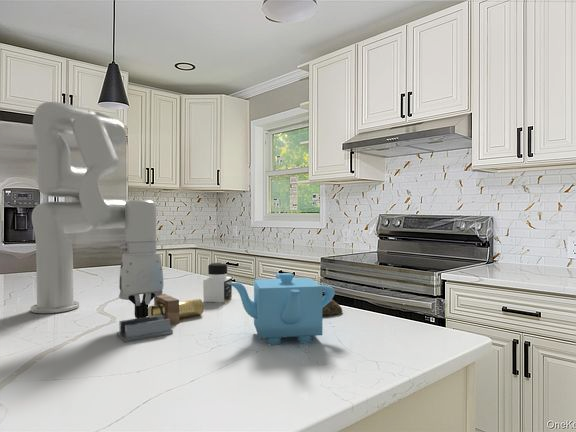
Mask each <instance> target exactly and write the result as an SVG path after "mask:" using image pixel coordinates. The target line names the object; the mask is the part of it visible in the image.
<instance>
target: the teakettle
mask: <svg viewBox="0 0 576 432" xmlns="http://www.w3.org/2000/svg"><path fill="white" fill-rule="evenodd" d="M275 276H276V278H264V279H262V278H261V279H254V280H253V300H252V299H251V298H250V296H249V294H248V291H247V288H246V287H245V285H244V284H242V283H240V282H232V283H227V284H229V285H231V286H232V288H233V287H234V289H236V291H237V292H238V294H239V296H240V300H241V304H242V306H243V308H244V311H245V313H246V314H248V315H249V317H251V318H253V324H254V327H255V330H256V333H257V336H258V339H267V341H266V344H267V345H269V344H270V346H277V344H278V345H279V344H281V338H295V337H297V341H298V342H299V343H300V344H309V343H312V342H313V341H312V339H311V336H312V337H314V336H323V317H322V308H323V307H325V306H326V305H327V304H328V303H329V302H330V301H331V300H332V299H333V298H334V296H335V294H336V290H335V289H334V287H332V286H330V285H324V284H319V283H318V282H316V281H315V280H314V279H312V278H311V277H299V278H298V277H296V278H295V277H294V276H295V274H294V273H290V272H283V273H278V272H277V273H276V274H275ZM323 291H324V295H323ZM322 295H323V296H324V297H323V299H322Z"/></svg>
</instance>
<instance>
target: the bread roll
mask: <svg viewBox="0 0 576 432" xmlns="http://www.w3.org/2000/svg"><path fill="white" fill-rule="evenodd" d="M324 296H325V295H323V294H322V299H323V297H324ZM342 313H343V308H342V307H341V305H340V304H339V303H338V302H336V300H334V299H333V298H332V300H331V301H330V302H329V303H328V304H327V305H326V306H325V307H323V308H322V318H325V317H331V316H339V315H341V314H342Z"/></svg>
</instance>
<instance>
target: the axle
mask: <svg viewBox="0 0 576 432" xmlns="http://www.w3.org/2000/svg"><path fill="white" fill-rule="evenodd" d="M203 302H204V301H203V299H201V298H196V299H188V300H187V299H186V300H182V301H179V319H184V318H188V317H189V318H190V317H195V316H201V315H203V313H204V310H205V309H204V303H203ZM156 315H163V319H165V304H161V305H154V304H153V305H148V316H147V317H150V316H156Z"/></svg>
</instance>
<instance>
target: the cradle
mask: <svg viewBox="0 0 576 432" xmlns="http://www.w3.org/2000/svg"><path fill="white" fill-rule="evenodd" d="M118 325H119V331H117V332H116V336H117V337H118V338H119V339H120V340H121V341H123V342H124V343H129V342H135V341H141V340H146V339H151V338H156V337H164V336H168V335H173V334H174V332H173V329H172V328H171V325H170V319H163V315H156V316H150V317H148V316H147V317H143V318H130V319H124V320H119V324H118Z"/></svg>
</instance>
